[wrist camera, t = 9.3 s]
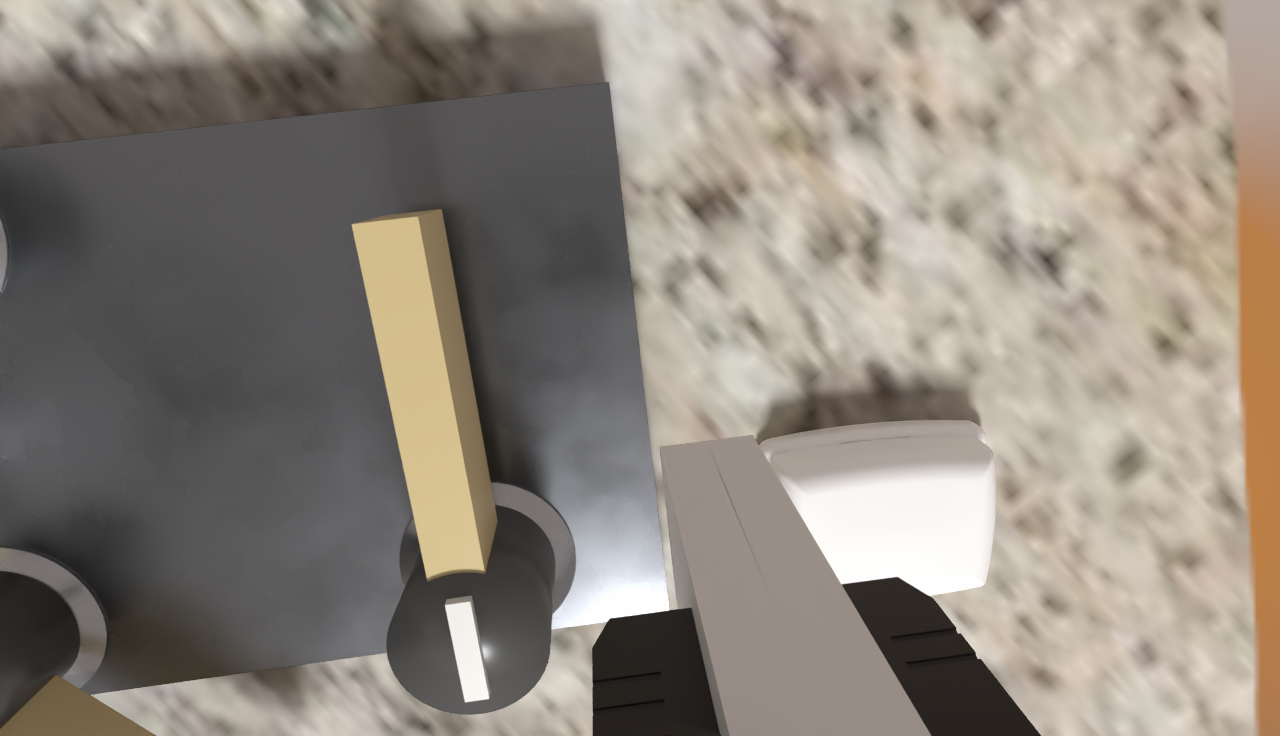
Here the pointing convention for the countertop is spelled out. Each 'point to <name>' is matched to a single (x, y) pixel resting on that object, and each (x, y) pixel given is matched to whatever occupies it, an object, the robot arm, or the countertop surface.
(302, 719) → the countertop surface
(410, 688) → the knob
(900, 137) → the countertop surface
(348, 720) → the countertop surface
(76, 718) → the knob
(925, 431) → the soap
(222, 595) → the dark grey knob panel
